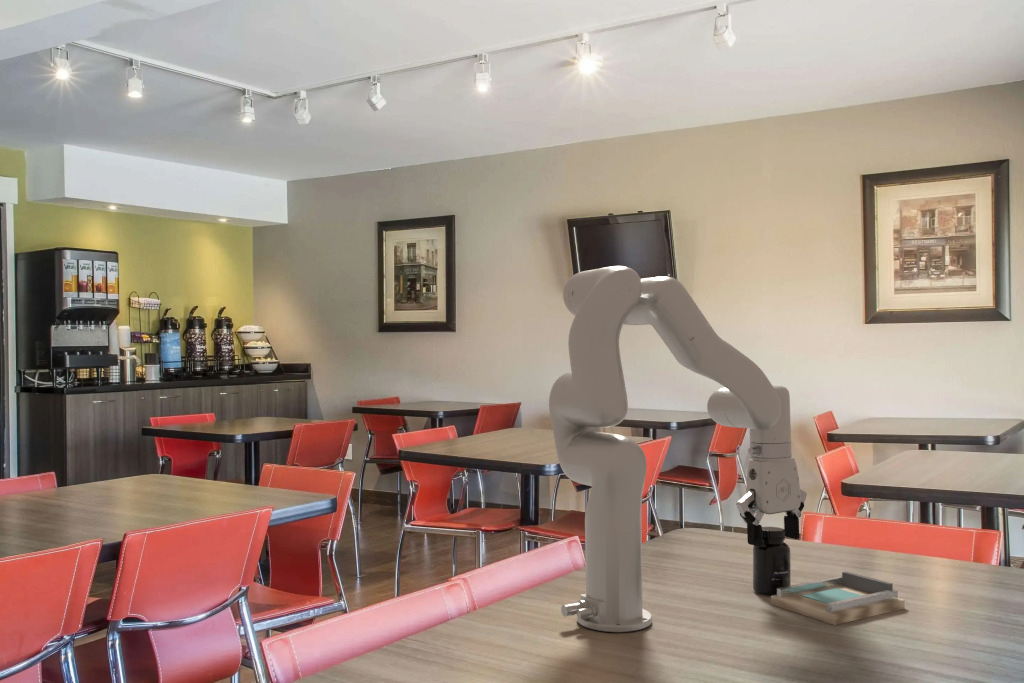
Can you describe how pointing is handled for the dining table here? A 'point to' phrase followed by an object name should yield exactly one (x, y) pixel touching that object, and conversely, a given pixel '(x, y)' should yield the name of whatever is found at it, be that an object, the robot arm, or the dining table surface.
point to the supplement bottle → (771, 562)
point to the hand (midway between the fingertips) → (773, 541)
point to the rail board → (840, 598)
